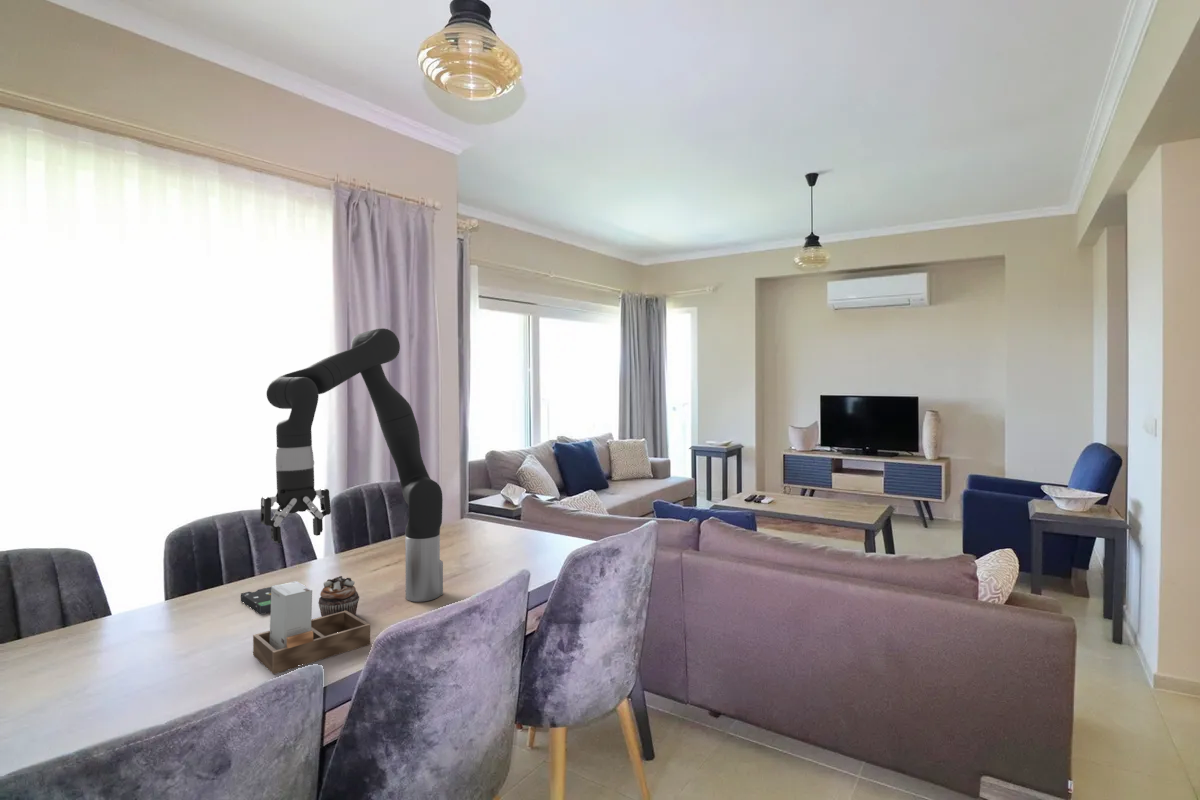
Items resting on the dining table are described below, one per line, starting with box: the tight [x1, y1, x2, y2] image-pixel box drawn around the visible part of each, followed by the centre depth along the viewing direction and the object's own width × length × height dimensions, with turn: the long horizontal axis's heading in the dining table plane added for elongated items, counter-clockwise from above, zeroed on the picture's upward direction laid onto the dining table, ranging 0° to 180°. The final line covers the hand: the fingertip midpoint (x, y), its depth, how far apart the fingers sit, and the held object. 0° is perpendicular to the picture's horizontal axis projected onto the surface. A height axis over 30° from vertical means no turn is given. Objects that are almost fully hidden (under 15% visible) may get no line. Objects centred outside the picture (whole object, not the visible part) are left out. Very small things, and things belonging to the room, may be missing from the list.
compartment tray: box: [252, 611, 371, 675], centre depth 136 cm, size 20×13×6 cm, turn 136°
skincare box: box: [269, 580, 313, 650], centre depth 133 cm, size 8×6×15 cm
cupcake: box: [318, 575, 360, 617], centre depth 155 cm, size 10×10×10 cm
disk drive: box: [240, 586, 271, 615], centre depth 166 cm, size 10×3×15 cm
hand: (297, 538), depth 137 cm, fingers open, 8 cm apart
